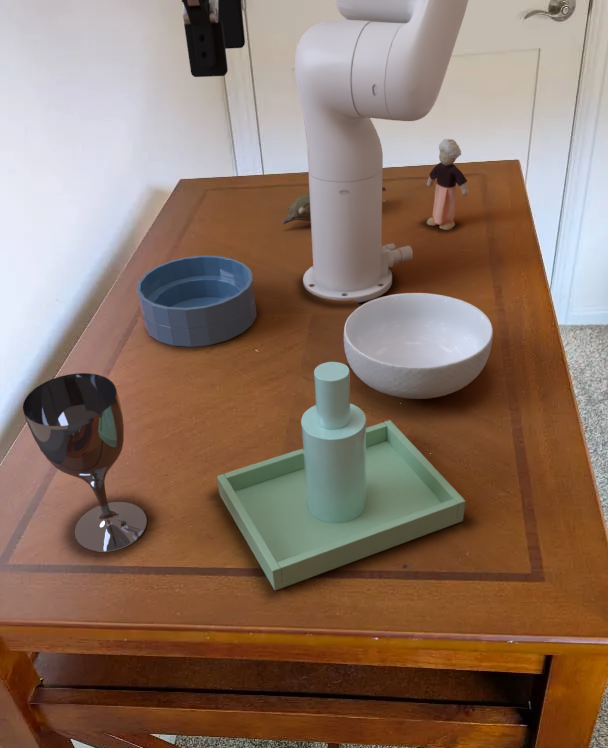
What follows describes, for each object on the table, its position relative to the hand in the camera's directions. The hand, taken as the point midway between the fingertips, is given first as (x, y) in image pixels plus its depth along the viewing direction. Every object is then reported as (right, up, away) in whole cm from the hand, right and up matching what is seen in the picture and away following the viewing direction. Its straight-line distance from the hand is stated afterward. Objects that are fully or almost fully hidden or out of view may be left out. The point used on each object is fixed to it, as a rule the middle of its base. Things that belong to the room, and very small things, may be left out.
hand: (219, 60), depth 71 cm
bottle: (+11, -41, +4) cm, 42 cm away
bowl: (-6, -15, +33) cm, 37 cm away
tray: (+11, -41, +5) cm, 43 cm away
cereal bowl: (+21, -25, +20) cm, 39 cm away
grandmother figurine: (+30, +5, +51) cm, 59 cm away
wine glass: (-11, -43, +5) cm, 45 cm away
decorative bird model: (+13, +9, +55) cm, 58 cm away
